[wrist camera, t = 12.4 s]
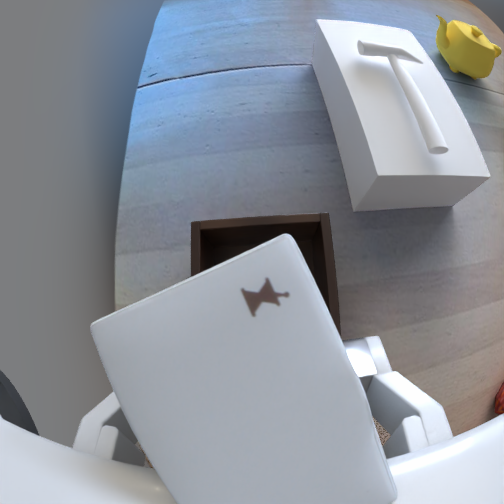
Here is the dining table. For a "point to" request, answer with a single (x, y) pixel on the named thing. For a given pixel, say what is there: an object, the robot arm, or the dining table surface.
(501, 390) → the decorative stone
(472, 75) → the teapot
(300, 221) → the holder
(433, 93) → the hammer relief block
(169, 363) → the cosmetic box
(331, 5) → the dining table surface
